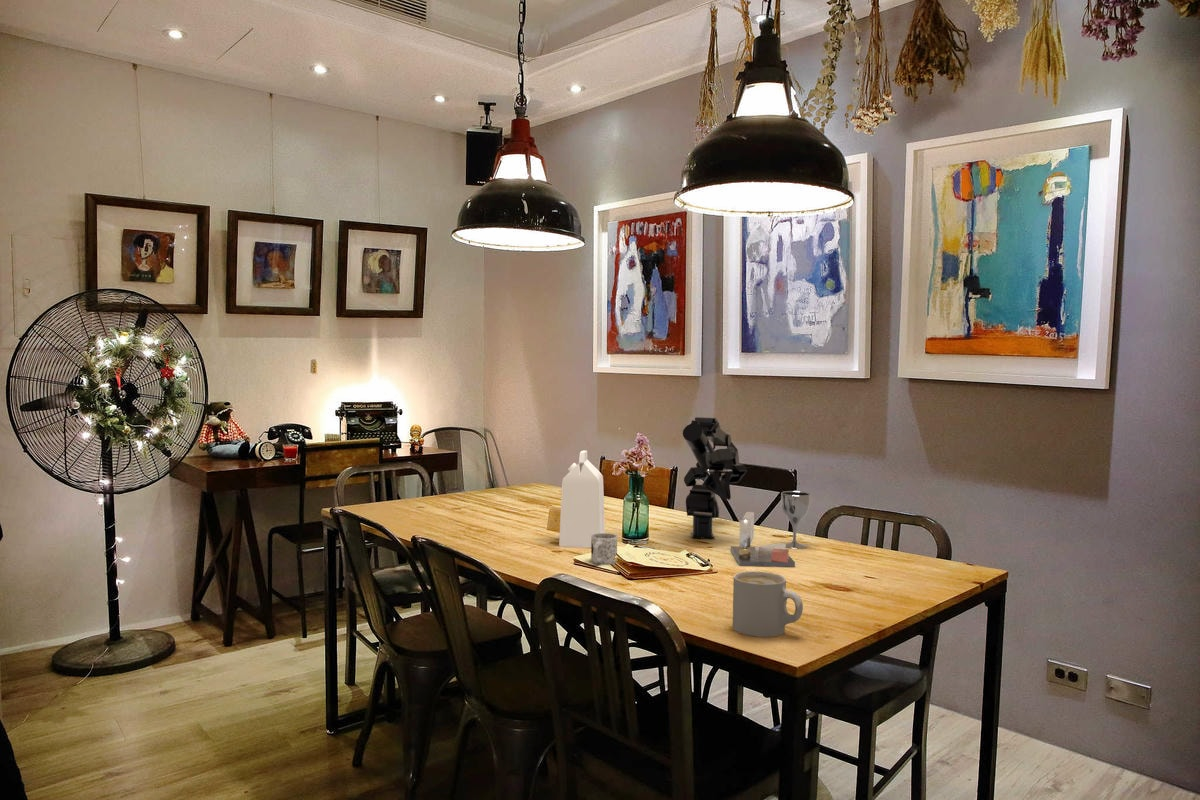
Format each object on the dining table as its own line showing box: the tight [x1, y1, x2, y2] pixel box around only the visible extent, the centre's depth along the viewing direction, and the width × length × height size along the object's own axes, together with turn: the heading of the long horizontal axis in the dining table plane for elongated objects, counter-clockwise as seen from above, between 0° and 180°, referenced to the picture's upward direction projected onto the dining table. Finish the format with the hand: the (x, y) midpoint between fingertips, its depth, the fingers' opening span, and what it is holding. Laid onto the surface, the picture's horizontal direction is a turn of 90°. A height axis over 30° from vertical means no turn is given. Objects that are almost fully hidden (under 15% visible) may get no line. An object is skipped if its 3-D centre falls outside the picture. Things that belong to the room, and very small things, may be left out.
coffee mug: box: [732, 570, 804, 638], centre depth 157 cm, size 13×10×10 cm
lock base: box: [730, 542, 796, 568], centre depth 216 cm, size 17×14×4 cm
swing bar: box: [739, 511, 755, 548], centre depth 217 cm, size 13×3×7 cm, turn 163°
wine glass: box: [780, 490, 811, 550], centre depth 232 cm, size 8×8×15 cm
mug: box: [590, 532, 618, 566], centre depth 209 cm, size 10×7×7 cm, turn 159°
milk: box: [558, 450, 606, 549], centre depth 232 cm, size 12×12×26 cm
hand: (727, 499), depth 228 cm, fingers closed
